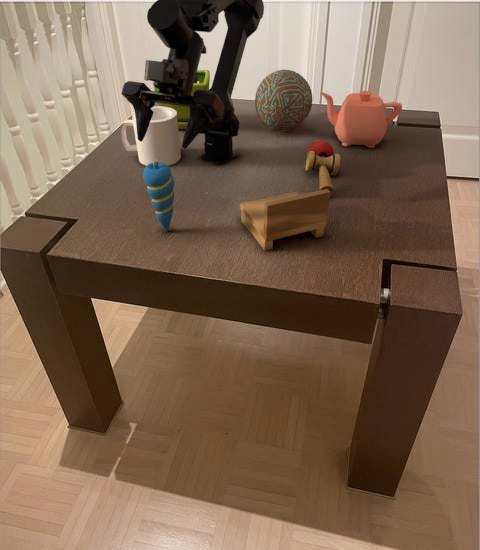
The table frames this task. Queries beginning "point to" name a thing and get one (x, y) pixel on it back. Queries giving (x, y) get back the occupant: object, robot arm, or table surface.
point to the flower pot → (203, 84)
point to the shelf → (286, 216)
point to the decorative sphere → (283, 100)
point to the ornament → (160, 191)
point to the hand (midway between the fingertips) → (161, 144)
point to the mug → (156, 137)
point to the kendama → (323, 163)
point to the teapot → (361, 118)
